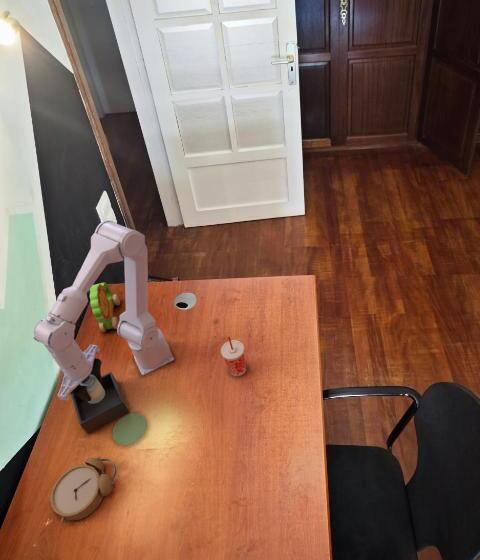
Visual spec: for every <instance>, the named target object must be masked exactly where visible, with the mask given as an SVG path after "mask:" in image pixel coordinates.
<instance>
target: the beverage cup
mask: <svg viewBox="0 0 480 560" xmlns="http://www.w3.org/2000/svg"><path fill="white" fill-rule="evenodd" d="M227 339H228V341H226V342H224V344H222V346H221V348H220V355H221V357H222V358H223V359H224V361H225V364H226V366H227V369H228V371H229V373H230V375H231V376H233V377H241V376H243V375H245V373H246V371H247V365H246V364H247V363H246V357H245V345H244V344H243V343H242V342H241V341H239V340H237V339H232V340H231V336H228V337H227Z"/></svg>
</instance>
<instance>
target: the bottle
mask: <svg viewBox="0 0 480 560" xmlns="http://www.w3.org/2000/svg"><path fill="white" fill-rule="evenodd" d="M80 385H82V386H87V392H88V394H89V395H90V397H91V401H90V402H89V401H88V402H89V403H92V404H94V403H98V402H100V401H101V400H102V399H103V398H104V396H105V390H104V389H103V387H102V385H101V384H100V382H99V381H98V380H97V378H96V377H95V376H94V375H88V377H86V378H85V379H84V380H83V381H82V382H81V383H80Z"/></svg>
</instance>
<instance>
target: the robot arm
mask: <svg viewBox="0 0 480 560" xmlns="http://www.w3.org/2000/svg"><path fill="white" fill-rule="evenodd" d="M148 251H149V250H148V247H147V244H146V236H145V234H143V233H142V232H140V231H138V230H135V229H131V228H129V227H126V226H123V225H122V224H118V223H116V222H114V221H112V220H108V219H106V220H103V221H102V222H100V223H99V224H98V225H97V226H96V228H95V231H94V233H93V234H92V236H91V237H90V249H89V251H88V254H87V256H86V257H85V259H84V262H83V264H82V265H81V268H80V270H79V271H78V273H77V275H76V277H75V279H74V280H73V283H72V285H71V286H68V287H65V288H64V289H63V290H62V291H61V293H59V295H57V298H56V301H55V302H54V304H53V305H52V307H51V308H50V311H49V312H48V314H47V316H46V317H45V318H42V319H40V320H39V321H38V322H37V323H36V324H35V326H34V329H33V335H34V336H33V337H32V338H33V339H34V341H36V342H39V343H41V344H43V346H44V347H45V348H46V350H47V351H48V353H49V355H50V356H51V357H52V359H53V360H54V362H55V363H56V365H57V366H58V367H59V369H60V370H61V371H62V373H63V377H62V382H61V385H60V389H59V390H58V393H57V397H58V398H59V399H60V400H62V401H66V402H69V400H70V399H71V394H73V395H75V396H77V397H79V398H81V399H82V400H83V401H89V402H90V401H91V397H90V395H89V394H88V392H87V386H82V385H80V383H81V382H82V381H83V380H84V379H85V378H86V377H88V375H94V376H95V377H96V378H97V380H98V381H99V382H100V383H101V382H102V379H101V376H102V372H101V367H102V363H103V362H102V360H101V359H100V358H96V354H99V353H100V351H101V350H100V348H99V346H98V345H96V344H89V346H88V347H87V348H86V349H85V350H84V351H83V350H82V349H81V347H80V346H79V344H78V342H77V341H76V340H75V330H76V328H77V327H76V323H77V321H78V319H79V318H80V317H81V314H82V313H83V311H84V309H85V308H86V306H87V305H88V303H89V299H88V294H87V293H89V292H90V288H91V287H92V285H95V282H96V281H97V280H98V278H99V276H100V275H101V273H102V272H103V271H104V269H105V268H106V267H107V265H109V264H115V263H119V262H123V263H124V291H125V292H124V294H125V295H124V297H125V300H124V301H125V311H124V312H122V313H121V314H120V315H119V324H118V328H117V329H116V332H117V335H118V337H120V338H122V339H125V340H126V342H127V344H128V347H129V349H130V351H131V352H132V354H133V358H134V360H135V363H136V366H137V367H138V370H139V372H140V374H141V376H146V375H148V374H149V373H151V372H153V371H155V370H157V369H159V368H161V367H162V366H165V365H167V364H169V363H171V362H173V361H174V360H175V357H174V356H173V354H172V351H171V347H170V345H169V343H168V342H167V340H166V338H165V335H164V334H163V331H162V330H161V329H160V328H158V327H157V321H156V319H155V318H154V316H153V315H152V314H151V313H150V312H149V271H148V270H149V263H148V262H149V258H148V256H149V255H148Z"/></svg>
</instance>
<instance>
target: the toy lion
mask: <svg viewBox="0 0 480 560" xmlns="http://www.w3.org/2000/svg"><path fill="white" fill-rule="evenodd" d="M89 299H90V307H91V310H92V314H93V316H94V318H95V320H96V322H97V323H98V326H99V330H100V332H101V333H105V332H107V331H108V330H112V329H114V330H117V328H118V324H119V321H120V319H118V316H114V307H115V306H116V307H117V306H120V305H121V299H120V296H119V294H118V293H114V294H113V291H112V289H111V288H110V286H109V284H108V283H107V282H101V283H97V284H93V285H92V286H91V288H90V289H89Z"/></svg>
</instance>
